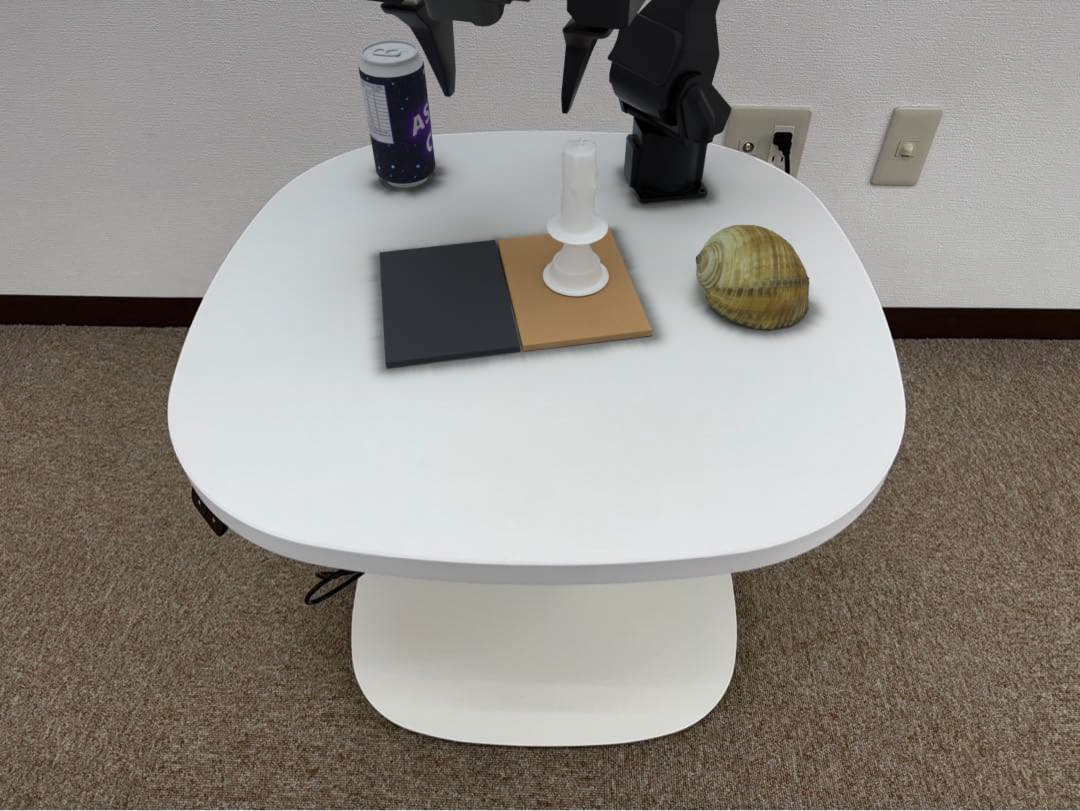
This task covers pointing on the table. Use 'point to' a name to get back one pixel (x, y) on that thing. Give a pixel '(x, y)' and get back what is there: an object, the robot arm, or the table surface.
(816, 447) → the table surface
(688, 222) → the table surface
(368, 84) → the beverage can
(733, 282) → the seashell
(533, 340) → the sorting mat
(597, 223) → the candle
